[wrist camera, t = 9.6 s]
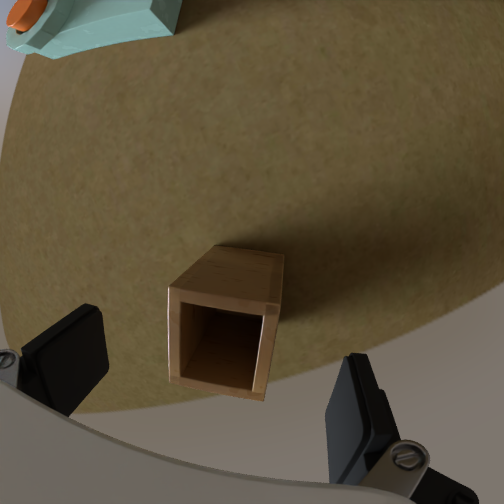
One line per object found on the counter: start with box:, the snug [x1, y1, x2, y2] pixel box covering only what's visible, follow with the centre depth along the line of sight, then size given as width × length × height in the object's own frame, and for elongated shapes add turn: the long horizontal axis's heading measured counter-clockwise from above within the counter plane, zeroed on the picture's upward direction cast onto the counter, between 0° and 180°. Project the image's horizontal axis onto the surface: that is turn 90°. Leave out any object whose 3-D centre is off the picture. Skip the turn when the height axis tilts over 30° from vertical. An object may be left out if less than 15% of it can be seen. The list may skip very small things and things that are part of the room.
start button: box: [7, 0, 48, 32], centre depth 10 cm, size 3×3×2 cm
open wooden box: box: [168, 245, 284, 401], centre depth 16 cm, size 5×4×8 cm
